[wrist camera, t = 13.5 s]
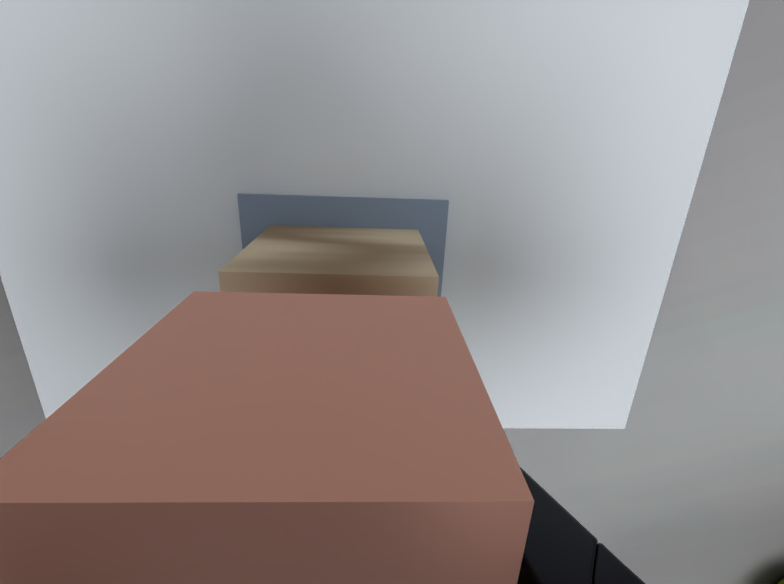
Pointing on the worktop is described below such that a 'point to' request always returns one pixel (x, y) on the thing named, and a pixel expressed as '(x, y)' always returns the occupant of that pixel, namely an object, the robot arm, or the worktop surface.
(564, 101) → the blueprint board
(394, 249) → the maple block
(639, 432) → the worktop surface
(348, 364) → the coral block
